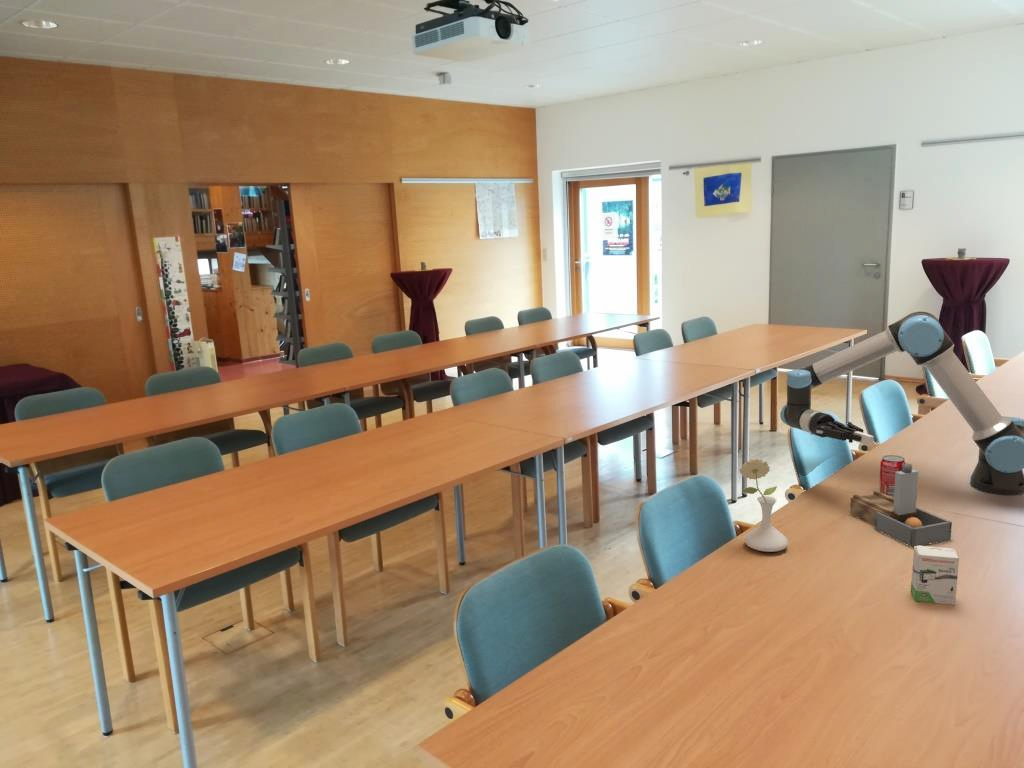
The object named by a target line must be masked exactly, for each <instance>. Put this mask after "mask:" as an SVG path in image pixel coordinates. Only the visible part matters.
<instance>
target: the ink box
mask: <svg viewBox="0 0 1024 768" xmlns="http://www.w3.org/2000/svg"><path fill="white" fill-rule="evenodd" d="M959 561H960V558H959V555H958V552H957V551H956V550H955V549H954V548H950V547H939V546H938V547H937V546H928V545H926V546H925V545H922V546H915V547H913V558H912V571H911V572H912V573H911V582H910V593H911V596H912V599H913V600H914V601H915V602H922V603H923V602H925V603H933V604H939V605H940V604H941V605H942V604H943V605H951V606H955V605H956V600H957V599H956V598H957V586H958V574H959V564H960V563H959Z"/></svg>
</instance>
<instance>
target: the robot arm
mask: <svg viewBox="0 0 1024 768" xmlns="http://www.w3.org/2000/svg"><path fill="white" fill-rule="evenodd" d="M885 328H886V329H885V330H884V331H881V332H879V333H877V334H875V335H873V336H870V337H869V338H866V339H864V340H861V341H860V342H857V343H856V344H853V345H851V346H849V347H847V348H845V349H842V350H840V351H838V352H836V353H833V354H831V355H829V356H827V357H825V358H823V359H821V360H818V361H816V362H814V363H812V364H810V365H808V366H806V367H803V366H802V367H800V368H798V369H792V370H789V371H788V372H787V373H786V375H787V376H786V397H787V398H786V404H785V405H784V406H782V407H781V410H780V413H779V416H780V420H781V421H782V423H783V424H785V425H786V426H789V427H791V428H794V429H797V430H801V431H803V432H806V433H809V434H810V435H814V436H817V437H820V438H831V439H836V440H839V441H844V442H845V441H847V440H848V443H853V442H857V443H860V444H863V445H866V446H868V447H869V446H874V444H875V443H874V441H875V436H874V435H871V434H868V433H865V432H864V429H863V428H861V427H859V426H857V425H855V424H853V423H852V422H850V421H848V422H847V423H842V422H841V421H840V422H839V421H838V420H835V418H834V417H833V416H832V415H831V414H828V413H825V412H822V411H819V410H815V409H812V408H811V407H812V401H811V400H812V390H813V389H814V388H816V387H819V386H821V385H822V384H825V383H827V382H829V381H830V382H831V380H835V379H836V378H838V377H841V376H843V375H845V374H848V373H850V372H852V371H855V370H857V369H859V368H861V367H864V366H866V365H869V364H870V363H873V362H875V361H878V360H880V359H882V358H885V357H886V356H889V355H891V354H894V353H896V352H899V353H903V352H906V353H907V354H909V356H910V357H911V358H912V360H913V361H914V363H915V364H916V365H917V366H920V367H923V368H924V367H925V368H926V369H927V371H928V372H929V373H930V375H931V376H932V377H933V379H934V380H935V381H936V383H937V384H938V385H939V387H940V388H941V390H942V391H943V392H944V394H945V395H946V397H947V398H948V399H949V400H950V401H951V403H952V404H953V405H954V407H955V409H956V410H957V411H958V412H959V413H960V415H961V417H963V419H964V421H965V422H966V423H967V424H968V426H969V427H970V428H971V429H972V431H973V432H972V437H971V438H972V440H973V441H974V444H976V445H977V447H978V459H977V460H978V461H977V463H976V465H975V467H974V469H973V471H972V474H971V475H970V480H969V481H970V482H969V484H970V487H972V488H974V489H975V490H979V491H981V492H984V493H989V494H995V495H1002V496H1003V495H1005V496H1008V495H1009V496H1016V495H1021V494H1024V419H1023V418H1020V417H1013V416H1005V415H1003V416H1002V415H1001V413H1000V411H999V410H998V409H997V408H996V407H995V405H994V403H993V402H992V401H991V400H990V398H989V397H988V396H987V394H986V393H985V392H984V390H983V389H982V388H981V386H979V384H978V382H976V379H974V377H973V376H972V375H971V373H970V372H969V371H968V369H967V368H966V367H965V365H964V364H963V363H962V361H961V360H960V359H959V358H958V356H957V355H956V354H955V352H954V349H955V348H954V347H955V343H954V342H953V340H952V339H951V338H950V336H949V335H948V333H947V332H946V331H945V329H944V328H943V327H942V325H941V323H940V321H939V319H938V318H937V317H936V316H935V315H933V314H932V313H930V312H926V311H914V312H911V313H910V314H907V315H906V316H904V317H903V318H901V319H899V320H897V321H896V322H894V323H891V324H889V325H887V326H886V327H885Z"/></svg>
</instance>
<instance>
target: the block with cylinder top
mask: <svg viewBox="0 0 1024 768" xmlns="http://www.w3.org/2000/svg"><path fill="white" fill-rule="evenodd" d="M918 479H919V471H918V470H915V469H913V464H911V463H907V462H905V463H904V464H902V471H899V472H895V489H894V506H893V511H894V513H895V514H897V515H903V514H908V513H914V512H916V507H917V493H918V481H919V480H918Z"/></svg>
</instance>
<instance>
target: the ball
mask: <svg viewBox="0 0 1024 768" xmlns="http://www.w3.org/2000/svg"><path fill="white" fill-rule="evenodd" d="M905 524H906V525H908V526H910V527H912V528H916V527H921V526H922V522H921V521H920V520H919V519H918V518H915V517H910V518H908V519H907V520H906V521H905Z"/></svg>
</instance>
